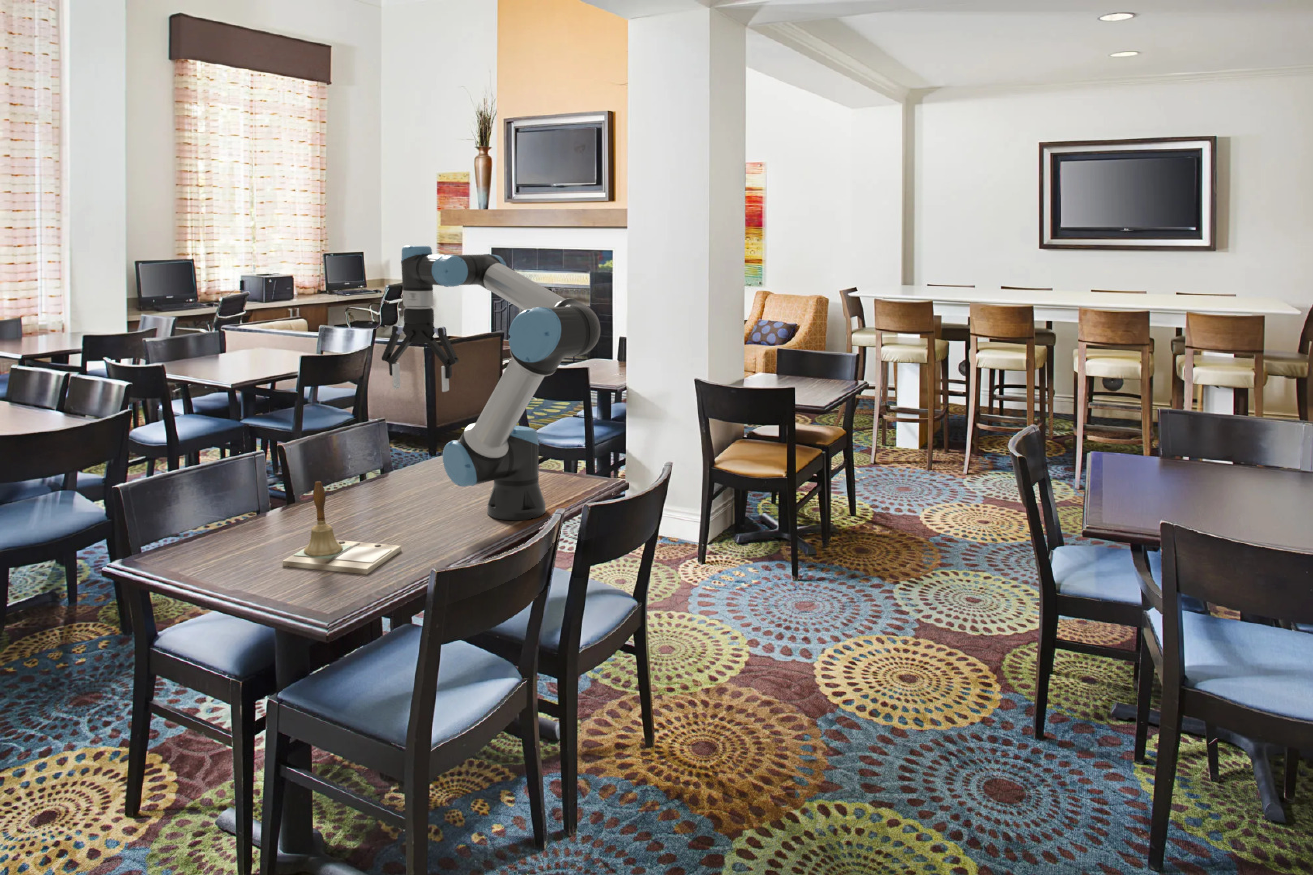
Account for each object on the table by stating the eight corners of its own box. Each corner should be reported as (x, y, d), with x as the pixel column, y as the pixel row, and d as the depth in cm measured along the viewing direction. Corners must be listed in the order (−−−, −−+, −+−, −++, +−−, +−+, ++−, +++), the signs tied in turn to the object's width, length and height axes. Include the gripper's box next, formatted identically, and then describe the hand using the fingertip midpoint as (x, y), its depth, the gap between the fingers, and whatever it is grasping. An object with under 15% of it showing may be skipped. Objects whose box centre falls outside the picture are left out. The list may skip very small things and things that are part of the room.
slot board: (401, 550, 221) (400, 544, 221) (367, 574, 206) (366, 567, 205) (322, 543, 225) (321, 537, 225) (282, 565, 210) (282, 559, 209)
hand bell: (305, 558, 211) (301, 487, 207) (302, 546, 218) (298, 478, 215) (344, 553, 214) (341, 484, 211) (340, 542, 221) (336, 475, 218)
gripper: (366, 306, 243) (369, 389, 248) (458, 310, 238) (460, 394, 243) (380, 304, 250) (383, 385, 255) (470, 308, 246) (471, 389, 250)
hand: (421, 389), depth 249 cm, fingers open, 13 cm apart
